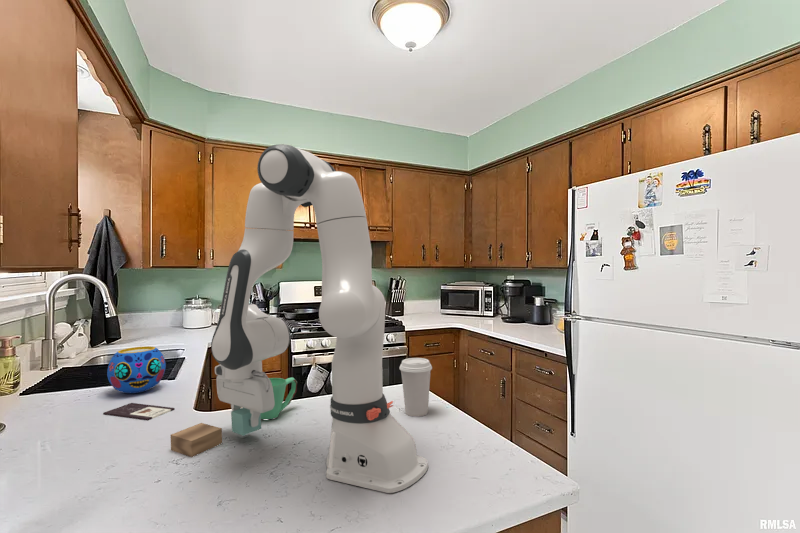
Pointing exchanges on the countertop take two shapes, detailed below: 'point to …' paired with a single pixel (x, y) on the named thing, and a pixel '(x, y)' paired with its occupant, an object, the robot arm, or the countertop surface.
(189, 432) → the walnut slab
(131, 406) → the chocolate bar
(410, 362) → the coffee cup
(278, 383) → the mug
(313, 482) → the countertop surface
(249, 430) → the teal cube
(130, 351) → the ceramic pot
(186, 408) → the countertop surface
